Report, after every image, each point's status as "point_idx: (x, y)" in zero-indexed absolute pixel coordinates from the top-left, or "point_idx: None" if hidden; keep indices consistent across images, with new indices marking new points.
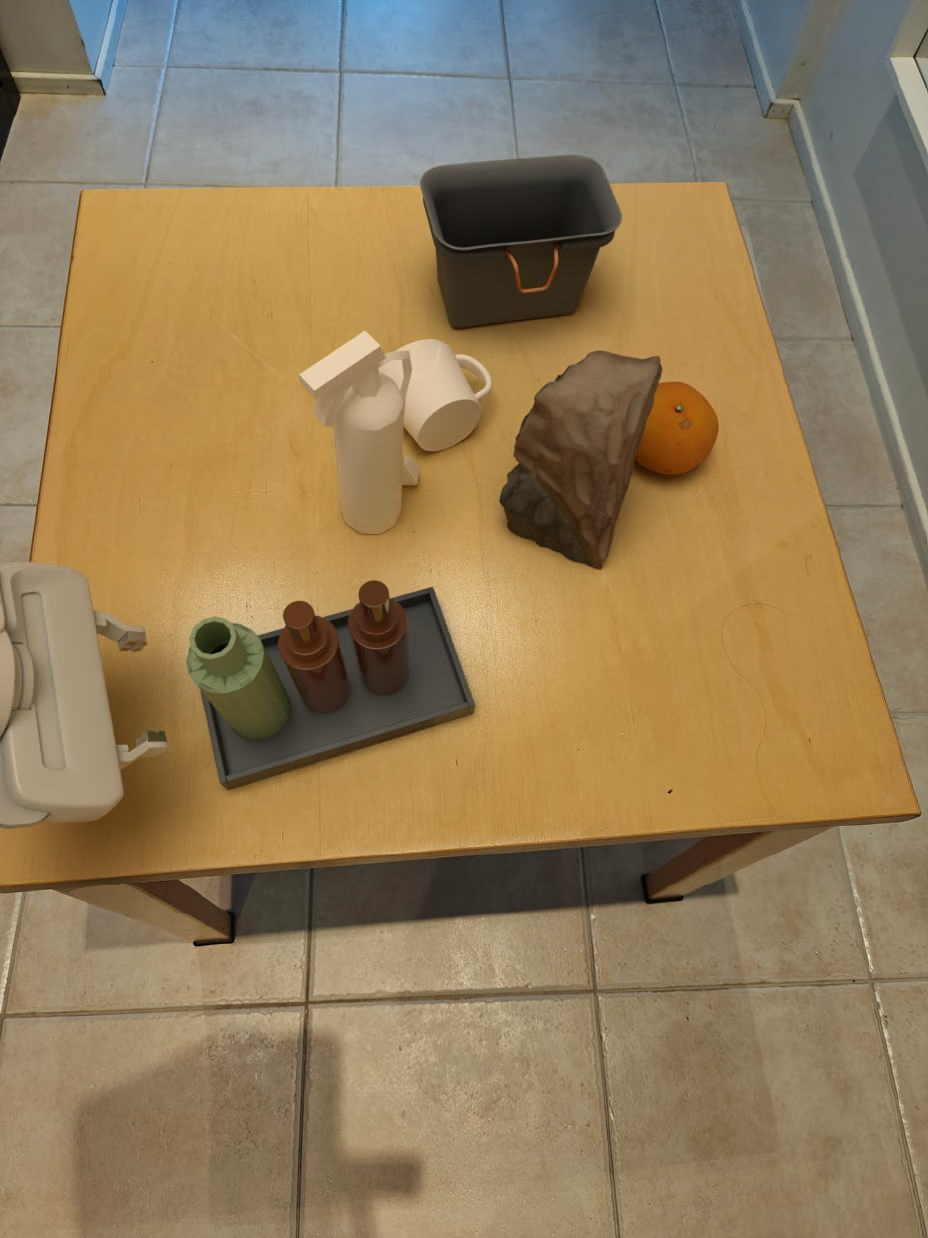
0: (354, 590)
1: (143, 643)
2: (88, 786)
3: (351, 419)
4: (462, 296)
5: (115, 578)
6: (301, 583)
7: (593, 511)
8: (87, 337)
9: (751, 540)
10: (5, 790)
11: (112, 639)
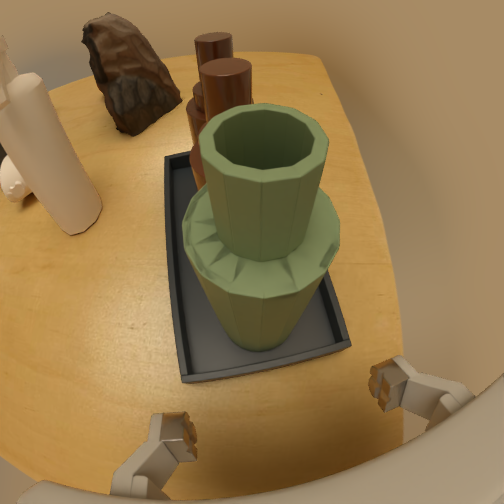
0: (143, 227)
1: (186, 417)
2: None
3: (17, 93)
4: (1, 151)
5: (87, 451)
6: (122, 272)
7: (159, 63)
8: None
9: (189, 65)
10: None
11: (173, 469)
